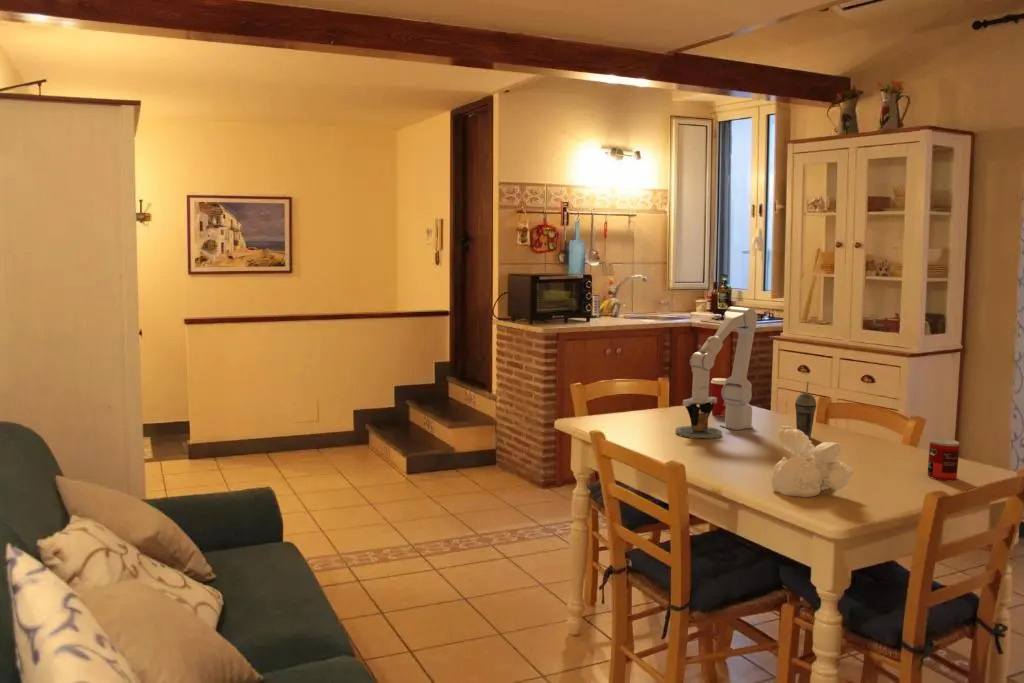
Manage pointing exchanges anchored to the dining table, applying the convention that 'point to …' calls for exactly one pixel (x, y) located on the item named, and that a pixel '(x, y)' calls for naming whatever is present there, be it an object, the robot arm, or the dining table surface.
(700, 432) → the dish
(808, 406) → the beverage cup
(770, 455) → the dining table surface
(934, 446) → the canned food
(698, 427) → the walnut block
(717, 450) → the dining table surface
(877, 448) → the dining table surface
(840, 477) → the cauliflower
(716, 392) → the paper cup
